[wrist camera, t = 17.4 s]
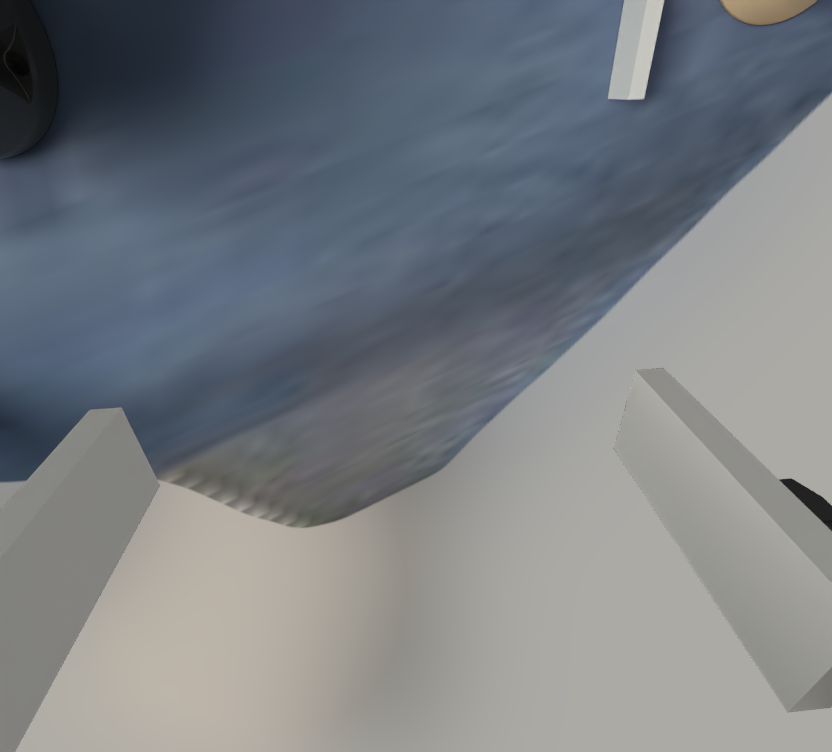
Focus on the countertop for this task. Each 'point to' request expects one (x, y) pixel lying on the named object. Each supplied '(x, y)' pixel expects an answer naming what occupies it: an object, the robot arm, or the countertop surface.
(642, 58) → the divider
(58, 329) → the countertop surface
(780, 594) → the robot arm
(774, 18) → the coaster
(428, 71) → the countertop surface
